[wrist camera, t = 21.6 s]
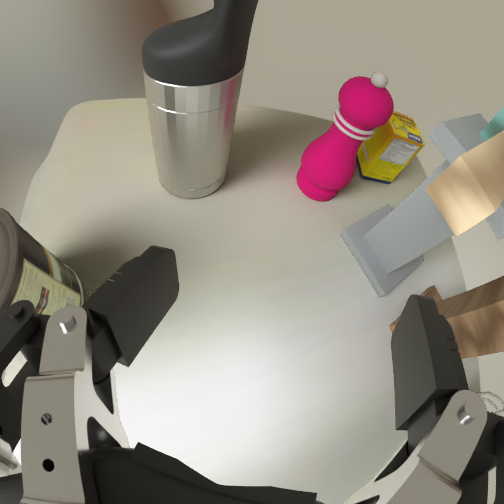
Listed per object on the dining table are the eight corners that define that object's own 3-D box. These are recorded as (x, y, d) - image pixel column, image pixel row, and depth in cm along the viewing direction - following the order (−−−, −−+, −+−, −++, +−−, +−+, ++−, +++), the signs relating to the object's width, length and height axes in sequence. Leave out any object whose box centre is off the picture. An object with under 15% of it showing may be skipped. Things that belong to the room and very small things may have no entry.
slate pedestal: (334, 237, 36) (441, 121, 16) (390, 204, 40) (479, 113, 20) (374, 301, 34) (515, 230, 13) (424, 257, 38) (530, 186, 17)
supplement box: (381, 157, 44) (413, 117, 34) (389, 185, 42) (426, 145, 32) (352, 150, 43) (382, 105, 33) (360, 178, 41) (395, 133, 31)
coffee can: (22, 265, 27) (-42, 217, 14) (84, 257, 29) (27, 196, 16) (21, 344, 24) (-56, 325, 11) (87, 344, 26) (14, 328, 13)
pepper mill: (294, 158, 40) (345, 45, 21) (338, 171, 41) (403, 71, 22) (291, 198, 37) (354, 77, 19) (340, 210, 38) (422, 108, 19)
